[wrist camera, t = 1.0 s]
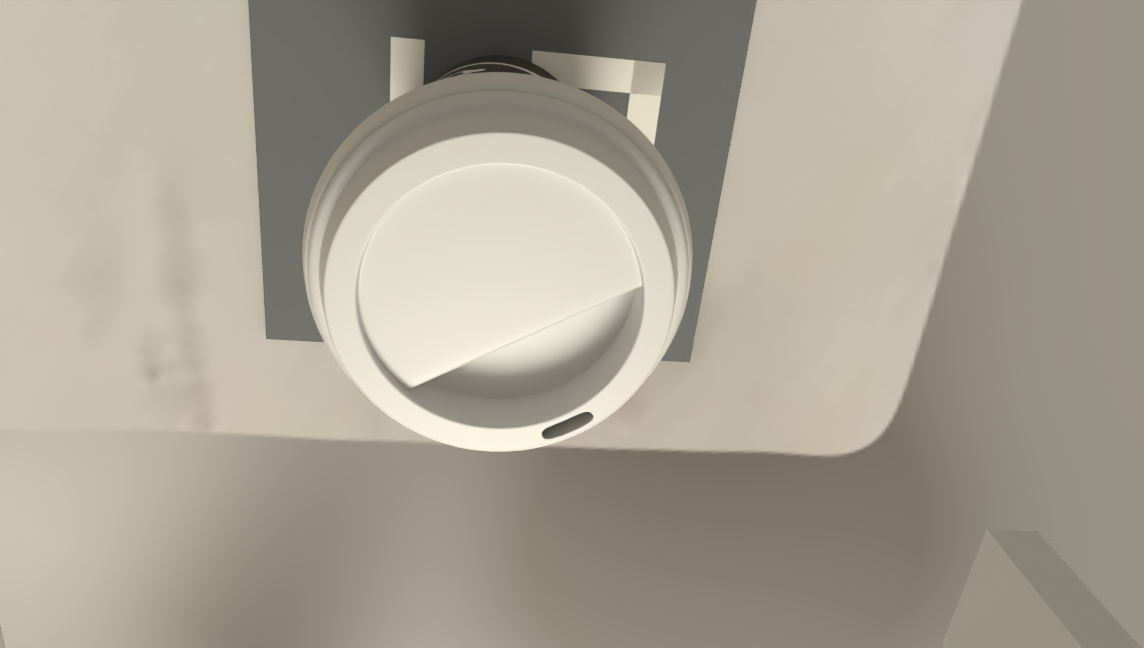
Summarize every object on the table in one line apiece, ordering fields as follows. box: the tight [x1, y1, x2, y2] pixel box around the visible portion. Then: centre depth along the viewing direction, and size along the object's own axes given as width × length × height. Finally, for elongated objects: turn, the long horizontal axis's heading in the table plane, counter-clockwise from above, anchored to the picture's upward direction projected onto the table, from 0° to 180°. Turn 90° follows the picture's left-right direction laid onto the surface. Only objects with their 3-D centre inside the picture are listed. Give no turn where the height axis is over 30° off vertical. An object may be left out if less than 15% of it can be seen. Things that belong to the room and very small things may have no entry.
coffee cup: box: [302, 55, 693, 452], centre depth 26 cm, size 10×10×15 cm
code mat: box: [249, 0, 757, 362], centre depth 33 cm, size 18×18×1 cm
